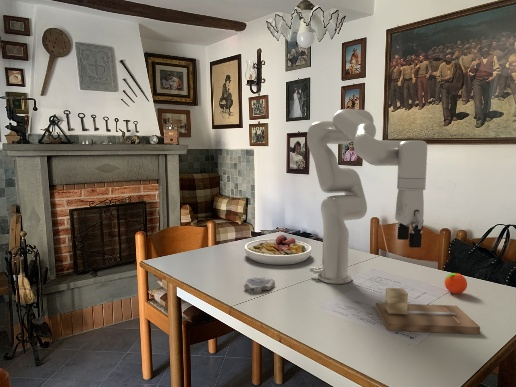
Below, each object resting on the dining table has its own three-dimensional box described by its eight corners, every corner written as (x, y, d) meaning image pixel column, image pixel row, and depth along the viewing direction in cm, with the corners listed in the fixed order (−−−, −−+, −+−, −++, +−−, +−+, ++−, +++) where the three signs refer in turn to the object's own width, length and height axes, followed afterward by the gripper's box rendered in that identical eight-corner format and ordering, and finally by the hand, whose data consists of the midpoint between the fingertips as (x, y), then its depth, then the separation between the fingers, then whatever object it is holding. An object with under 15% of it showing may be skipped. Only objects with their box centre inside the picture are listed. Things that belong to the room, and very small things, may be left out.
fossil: (257, 288, 127) (238, 275, 134) (255, 299, 128) (235, 285, 134) (280, 283, 135) (260, 271, 142) (277, 293, 136) (258, 281, 143)
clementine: (451, 298, 127) (453, 277, 126) (436, 290, 133) (437, 270, 133) (471, 295, 129) (472, 275, 128) (455, 288, 136) (457, 269, 135)
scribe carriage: (388, 313, 108) (389, 293, 107) (385, 307, 112) (385, 287, 111) (408, 314, 108) (410, 293, 107) (404, 308, 112) (405, 288, 111)
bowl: (309, 269, 157) (310, 250, 156) (238, 264, 162) (238, 246, 161) (312, 250, 186) (312, 234, 185) (251, 247, 191) (251, 231, 190)
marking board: (387, 330, 104) (387, 321, 103) (375, 309, 117) (375, 301, 117) (479, 334, 102) (480, 325, 102) (456, 312, 116) (456, 304, 115)
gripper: (388, 182, 118) (386, 236, 120) (408, 186, 101) (405, 250, 102) (413, 182, 118) (411, 237, 119) (437, 186, 100) (434, 250, 102)
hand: (408, 243), depth 111 cm, fingers open, 9 cm apart
